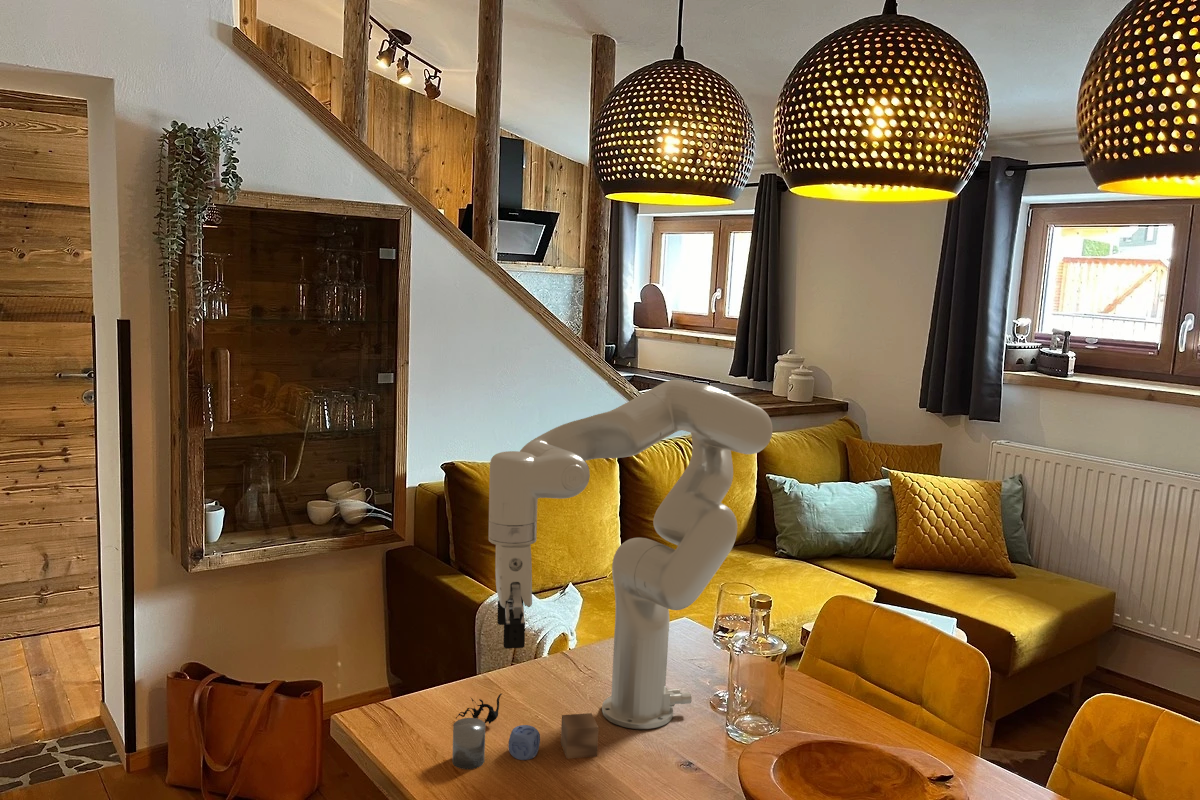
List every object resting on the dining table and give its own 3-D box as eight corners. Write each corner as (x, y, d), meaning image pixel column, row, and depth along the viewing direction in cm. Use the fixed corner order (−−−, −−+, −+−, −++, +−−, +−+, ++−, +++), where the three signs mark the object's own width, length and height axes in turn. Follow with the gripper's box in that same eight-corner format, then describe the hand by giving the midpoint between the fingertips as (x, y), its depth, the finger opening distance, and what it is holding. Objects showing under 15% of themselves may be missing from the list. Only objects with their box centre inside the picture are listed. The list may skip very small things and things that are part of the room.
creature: (449, 738, 157) (494, 735, 156) (443, 708, 157) (488, 704, 155) (465, 717, 165) (508, 714, 163) (459, 688, 164) (502, 684, 163)
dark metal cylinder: (482, 752, 151) (483, 716, 150) (486, 768, 146) (487, 731, 145) (451, 754, 150) (452, 718, 149) (453, 770, 145) (454, 733, 144)
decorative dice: (516, 746, 153) (517, 723, 153) (539, 750, 152) (540, 727, 152) (507, 757, 150) (508, 734, 149) (531, 762, 149) (532, 738, 148)
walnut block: (590, 741, 156) (591, 713, 155) (597, 756, 151) (598, 727, 151) (560, 743, 155) (561, 715, 154) (566, 759, 150) (567, 729, 149)
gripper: (544, 546, 139) (541, 656, 142) (529, 516, 156) (527, 614, 158) (493, 547, 138) (491, 658, 140) (484, 517, 155) (482, 616, 157)
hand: (510, 635), depth 149 cm, fingers open, 9 cm apart
